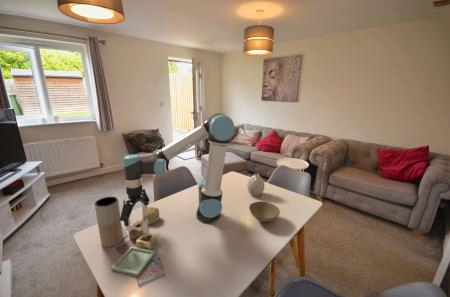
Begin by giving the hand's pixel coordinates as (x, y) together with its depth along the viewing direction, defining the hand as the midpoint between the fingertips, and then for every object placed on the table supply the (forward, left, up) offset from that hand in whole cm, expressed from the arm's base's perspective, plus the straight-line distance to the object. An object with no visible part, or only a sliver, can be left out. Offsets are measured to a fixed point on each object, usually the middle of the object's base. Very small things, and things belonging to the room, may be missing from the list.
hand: (137, 222), depth 106 cm
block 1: (0, 0, -8) cm, 8 cm away
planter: (+11, +7, -8) cm, 15 cm away
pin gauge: (-8, +5, -8) cm, 12 cm away
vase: (-56, -63, -8) cm, 85 cm away
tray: (-9, +16, -8) cm, 20 cm away
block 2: (-8, +5, -8) cm, 12 cm away
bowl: (-64, -31, -8) cm, 72 cm away
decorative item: (+2, -14, -8) cm, 16 cm away
